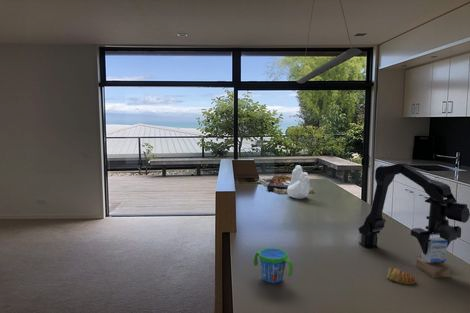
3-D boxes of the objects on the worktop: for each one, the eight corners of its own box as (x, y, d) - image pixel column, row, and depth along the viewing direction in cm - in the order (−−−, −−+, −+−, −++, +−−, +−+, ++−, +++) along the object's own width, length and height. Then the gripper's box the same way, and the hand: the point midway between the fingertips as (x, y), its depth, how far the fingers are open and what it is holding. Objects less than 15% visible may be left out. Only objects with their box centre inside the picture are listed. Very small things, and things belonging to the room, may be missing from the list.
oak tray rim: (276, 193, 277) (277, 190, 276) (258, 182, 327) (259, 178, 327) (314, 192, 283) (314, 189, 283) (290, 181, 334) (290, 178, 334)
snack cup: (247, 277, 129) (247, 251, 128) (264, 268, 137) (265, 244, 136) (281, 292, 119) (282, 263, 118) (298, 282, 126) (299, 255, 125)
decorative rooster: (285, 194, 274) (286, 163, 271) (304, 195, 274) (306, 164, 272) (291, 202, 249) (293, 168, 246) (313, 202, 249) (314, 168, 247)
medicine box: (429, 263, 134) (431, 241, 133) (420, 258, 139) (422, 237, 138) (446, 261, 136) (448, 240, 135) (436, 257, 141) (438, 236, 140)
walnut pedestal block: (433, 278, 133) (434, 268, 132) (416, 267, 142) (416, 258, 142) (449, 277, 134) (450, 267, 133) (431, 266, 144) (431, 257, 143)
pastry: (415, 280, 130) (416, 270, 130) (413, 287, 125) (414, 277, 124) (388, 273, 135) (389, 264, 135) (385, 280, 130) (386, 270, 129)
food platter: (297, 193, 281) (298, 180, 280) (267, 190, 286) (268, 178, 285) (299, 182, 324) (300, 171, 323) (273, 180, 330) (274, 169, 328)
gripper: (432, 222, 126) (429, 263, 127) (475, 220, 130) (471, 260, 131) (411, 214, 137) (408, 252, 138) (451, 212, 140) (447, 249, 142)
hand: (433, 253), depth 137 cm, fingers closed on medicine box, 8 cm apart
